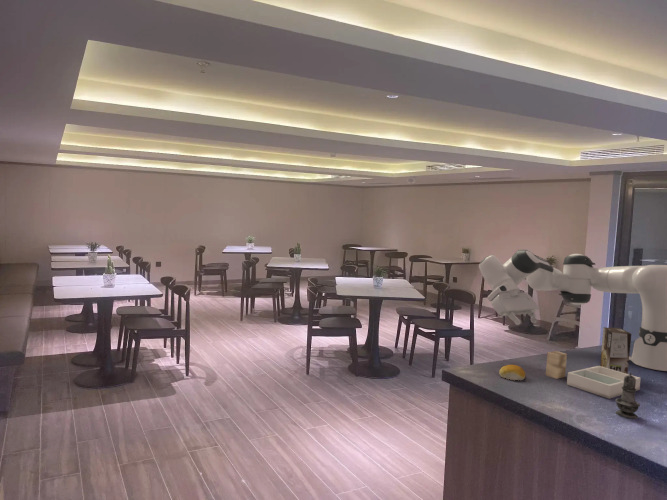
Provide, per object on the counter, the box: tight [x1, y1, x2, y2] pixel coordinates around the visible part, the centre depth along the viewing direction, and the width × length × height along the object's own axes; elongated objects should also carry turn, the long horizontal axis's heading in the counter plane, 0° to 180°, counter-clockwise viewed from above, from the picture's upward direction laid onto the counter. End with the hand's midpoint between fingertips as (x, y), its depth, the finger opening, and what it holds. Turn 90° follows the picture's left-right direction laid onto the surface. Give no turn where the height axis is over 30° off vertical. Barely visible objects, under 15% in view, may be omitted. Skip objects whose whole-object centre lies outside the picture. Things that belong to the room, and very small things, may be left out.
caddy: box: [566, 365, 641, 400], centre depth 158 cm, size 18×14×4 cm
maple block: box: [545, 350, 568, 379], centre depth 167 cm, size 5×4×8 cm
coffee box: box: [599, 326, 633, 374], centre depth 172 cm, size 9×6×16 cm
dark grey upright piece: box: [615, 372, 641, 420], centre depth 135 cm, size 6×6×12 cm
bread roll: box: [498, 364, 526, 382], centre depth 164 cm, size 8×9×4 cm
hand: (527, 322), depth 177 cm, fingers open, 8 cm apart
